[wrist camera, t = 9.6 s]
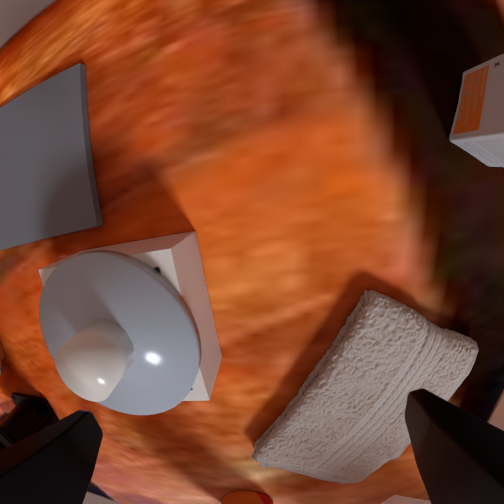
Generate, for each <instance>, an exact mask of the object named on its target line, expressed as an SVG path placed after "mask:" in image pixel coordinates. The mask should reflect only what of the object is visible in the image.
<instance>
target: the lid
mask: <svg viewBox="0 0 504 504" xmlns="http://www.w3.org/2000/svg"><path fill="white" fill-rule="evenodd" d="M39 314H40V324H41V329H42V333H43V337H44V340H45V342H46V345H47V347H48V350H49V352H50V354H51V356H52V357H53V359H54V361H55V365H56V369H57V371H58V374H59V376H60V377H61V379H62V380H63V382H64V383H65V384H66V386H67V387H68V388H69V389H70V390H71V391H73V392H74V393H75V394H77V395H78V396H80V397H82V398H84V399H86V400H89V401H94V402H97V403H99V404H101V405H103V406H105V407H108V408H110V409H113V410H115V411H118V412H122V413H126V414H133V415H152V414H158V413H162V412H165V411H167V410H169V409H172V408H173V407H175V406H176V405H178V404H179V403H180V402H181V401H182V400H183V399H184V398H185V397H186V396H187V395H188V393H189V392H190V390H191V388H192V386H193V384H194V382H195V379H196V376H197V374H198V371H199V367H200V363H201V354H202V352H201V340H200V335H199V330H198V327H197V324H196V321H195V319H194V317H193V315H192V312H191V310H190V308H189V307H188V305H187V303H186V302H185V300H184V299H183V297H182V296H181V295H180V293H179V292H178V291H177V289H176V288H175V287H174V286H173V285H172V284H171V283H170V282H169V281H168V280H167V279H166V278H165V277H164V276H163V275H162V274H160V273H159V272H158V271H157V270H156V269H154V268H153V267H151V266H150V265H148V264H147V263H145V262H143V261H141V260H139V259H137V258H135V257H133V256H130V255H127V254H125V253H121V252H116V251H112V250H94V251H89V252H85V253H82V254H79V255H77V256H75V257H73V258H71V259H69V260H67V261H65V262H63V263H62V264H60V265H59V266H58V267H56V268H55V270H54V271H53V272H52V273H51V274H50V276H49V277H48V279H47V280H46V282H45V285H44V287H43V290H42V294H41V298H40V306H39Z"/></svg>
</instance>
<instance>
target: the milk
mask: <svg viewBox="0 0 504 504" xmlns="http://www.w3.org/2000/svg"><path fill="white" fill-rule="evenodd" d="M381 504H431V502H430V501H429V500H422V499H416V498H410V497H405V496H400V495H395V494H394V495H393V496H391V497H390V498H388V499H387V500H385V501H384V502H382V503H381Z"/></svg>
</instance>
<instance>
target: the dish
mask: <svg viewBox="0 0 504 504" xmlns="http://www.w3.org/2000/svg"><path fill="white" fill-rule="evenodd" d="M94 250H112V251H116V252H121V253H125V254H127V255H130V256H133V257H135V258H137V259H139V260H141V261H143V262H145V263H147V264H148V265H150V266H151V267H153V268H154V269H156V270H157V271H158V272H159V273H160V274H162V275H163V276H164V277H165V278H166V279H167V280H168V281H169V282H170V283H171V284H172V285H173V286H174V287H175V288H176V289H177V291H178V292H179V293H180V295H181V296H182V297H183V299H184V300H185V302H186V303H187V305H188V307H189V308H190V310H191V312H192V315H193V317H194V319H195V321H196V324H197V327H198V330H199V335H200V340H201V352H202V354H201V363H200V367H199V371H198V374H197V376H196V379H195V382H194V384H193V386H192V388H191V390H190V392H189V393H188V395H187V396H186V397H185V398H184V399H183V400H182V401H206V400H210V397H211V393H212V390H213V386H214V383H215V379H216V376H217V372H218V369H219V365H220V362H221V358H222V354H221V350H220V346H219V341H218V337H217V333H216V328H215V324H214V319H213V315H212V310H211V305H210V301H209V296H208V291H207V286H206V282H205V277H204V272H203V267H202V262H201V257H200V252H199V246H198V241H197V236H196V231H192V232H186V233H180V234H174V235H168V236H162V237H156V238H150V239H144V240H138V241H132V242H127V243H121V244H115V245H110V246H104V247H99V248H93V249H88V250H83V251H79V252H77V253H75V254H72V255H70V256H68V257H66V258H63V259H61V260H59V261H57V262H54V263H52V264H50V265H48V266H46V267H44V268H41V269H39V274H40V277H41V281H42V284H43V287H44V285H45V282H46V280H47V279H48V277H49V276H50V274H51V273H52V272H53V271H54V270H55V268H56V267H58V266H59V265H60V264H62V263H63V262H65V261H67V260H69V259H71V258H73V257H75V256H77V255H79V254H82V253H85V252H89V251H94Z"/></svg>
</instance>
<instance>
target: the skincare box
mask: <svg viewBox="0 0 504 504" xmlns="http://www.w3.org/2000/svg"><path fill="white" fill-rule="evenodd" d="M449 140H450V141H451V142H452V143H454V144H456V145H457V146H459V147H461V148H462V149H464V150H465V151H467V152H468V153H470V154H471V155H473V156H474V157H476V158H477V159H478V160H480V161H481V162H483V163H484V164H485V165H487V166H491V167H504V54H502V55H500V56H497V57H495V58H493V59H491V60H489V61H486V62H484V63H482V64H480V65H478V66H476V67H474V68H471V69H469V70H467V71H465V72H464V73H463V77H462V85H461V89H460V95H459V100H458V105H457V110H456V114H455V118H454V121H453V125H452V129H451V133H450V136H449Z"/></svg>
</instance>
